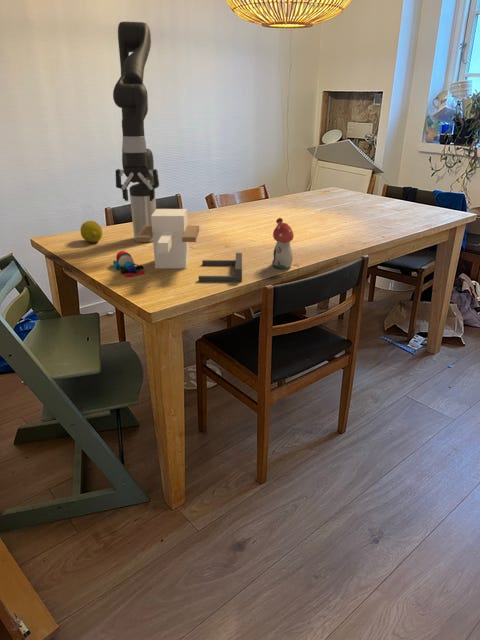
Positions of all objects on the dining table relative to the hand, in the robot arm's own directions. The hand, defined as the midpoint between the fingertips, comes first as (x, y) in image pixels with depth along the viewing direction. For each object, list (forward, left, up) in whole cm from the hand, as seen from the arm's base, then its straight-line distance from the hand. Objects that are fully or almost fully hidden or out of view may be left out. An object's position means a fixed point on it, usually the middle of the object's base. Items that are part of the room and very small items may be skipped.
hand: (139, 200), depth 164 cm
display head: (+21, +13, -18) cm, 30 cm away
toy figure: (+20, -1, -18) cm, 27 cm away
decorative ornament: (+17, +49, -18) cm, 54 cm away
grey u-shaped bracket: (+24, +29, -18) cm, 41 cm away
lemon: (-11, -21, -18) cm, 30 cm away
